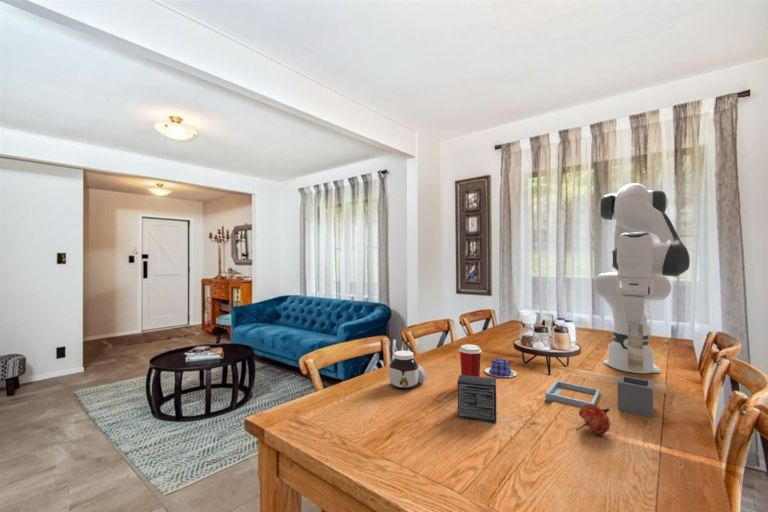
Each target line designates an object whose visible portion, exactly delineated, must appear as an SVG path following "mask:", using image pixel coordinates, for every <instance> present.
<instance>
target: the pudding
mask: <svg viewBox="0 0 768 512" xmlns="http://www.w3.org/2000/svg"><path fill="white" fill-rule="evenodd" d="M489 370H490V371H489ZM511 371H512V372H513V373H514V374H513V376H511V375H512V373H511ZM484 372H485V373H486V374H488V375H490V376H492V377H496V378H506V377H508V376H509V377H508V378H513V377H516V376H517V374H518V373H517V371H516V370H514V369H511V366H510V363H509V361H508V360H507V359H504V358H494V359H492V361H491V365H490V367H487V368H484Z"/></svg>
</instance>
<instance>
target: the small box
mask: <svg viewBox="0 0 768 512" xmlns="http://www.w3.org/2000/svg"><path fill="white" fill-rule="evenodd" d="M456 382H457V418H458V419H463V420H469V421H471V420H472V421H478V422H484V423H491V424H497V422H498V421H497V417H498V416H497V413H498V412H497V377H496V378H495V377H486V376H485V377H483V376H479V377H476V376H467V375H461V374H460V375H459V376H458V379H457V381H456Z"/></svg>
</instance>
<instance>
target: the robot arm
mask: <svg viewBox="0 0 768 512" xmlns="http://www.w3.org/2000/svg"><path fill="white" fill-rule="evenodd" d="M668 206H669V201H668V197H667V195H666V193H665V191H664V190H658V189H652V190H648V189H647V187H645V185H643V184H639V183H628V184H626V185H624V186H622V187H621V188H620V189H619V190H618V192H617V193H609V194H605V195H603V196H602V197H601V198H600V200H599V201H598V206H597V211H598V213H599V215H600V217H601V218H602V219H603V220H607V221H612V220H615V221H616V222H615V227H614V237H613V243H614V244H613V250H612V251H611V254H612V268H613V269H614V270H615V271H610V272H603V273H599V274H597V275H596V276H595V278H594V280H593V285H592V286H593V290H594V292H595V293H596V294H597V295H598V296H599V297H601V298H602V299H603V300H604V301H605V302H606V303H607V304H608V306H609V308H610V310H611V313H612V319H613V331H612V335H611V336H612V342H610V343H609V344H608V348H607V359H604V360H602V361H603V362H602V364H603V365H606V366H609V367H611V368H614V369H616V370H618V371H622V372H627V373H635V374H660V373H661V370H660V369H659V367H658V366H657V365H656V364H655V363H654V362H655V359H654V350H653V349H652V348H651V347H650V346H649V345H650V338H649V335H648V317H647V315H646V314H645V303H646V301H648V302H650V301H651V302H652V301H663V300H666V298H668V296H669V295H670V294H671V292H672V284H671V282H670V280H669V279H668V277H673V278H674V277H675V278H676V277H678V276H680V275H682V274H683V273H685V272H686V271H688V270H689V268H690V264H691V256H690V252H689V251H688V248H687V247H686V245H684V242H682V240H681V238H680V236H679V235H678V233H677V231H676V229H675V226H674V225H673V223H672V221H671V219H670V217H669V216H668V214H667V213H665V212H666V210H667V209H668ZM652 235H654V236H657V237H658V239H659V241H660V242H659V243H658V242H657V243H656V242H655V243H653V238H652ZM628 323H630V328H631V335H632V336H636V337H637V336H639V324H642V325H643V371H634V370H631V369H628Z"/></svg>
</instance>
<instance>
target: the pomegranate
mask: <svg viewBox="0 0 768 512" xmlns="http://www.w3.org/2000/svg"><path fill="white" fill-rule="evenodd" d="M610 411H611V409H610V408H609V407H608V408H604V409H602V408H600V407H599V406H597V405H590V404H587V405H584V406H583V407H581V408H579V411H578V416H579V417H580V418H581V419H583V422H584V423H583V425H581V426H579V427H578V428H576V429H575V431H578V430H580V429H583V428H584V427H585V426H587V427H588V428H589V429H590V430H592V433H593V434H595V435H596V436H602V435H604V434H606V433H607V432H608V431H609V430H610V427H611V420H610V417H609V416H608V415H607V414H608V412H610Z"/></svg>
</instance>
